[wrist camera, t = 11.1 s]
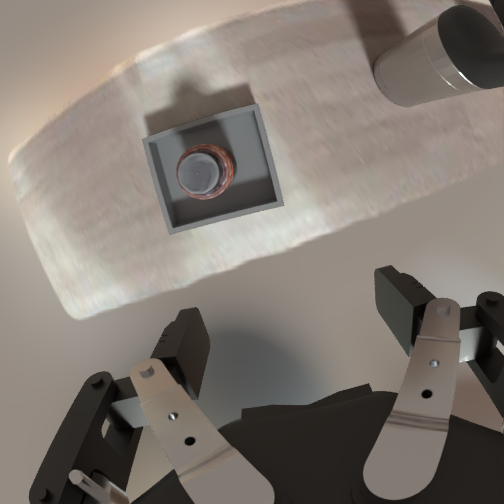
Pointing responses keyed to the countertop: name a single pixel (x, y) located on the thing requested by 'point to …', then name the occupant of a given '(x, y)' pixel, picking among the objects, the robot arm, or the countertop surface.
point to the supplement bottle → (205, 170)
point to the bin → (242, 187)
